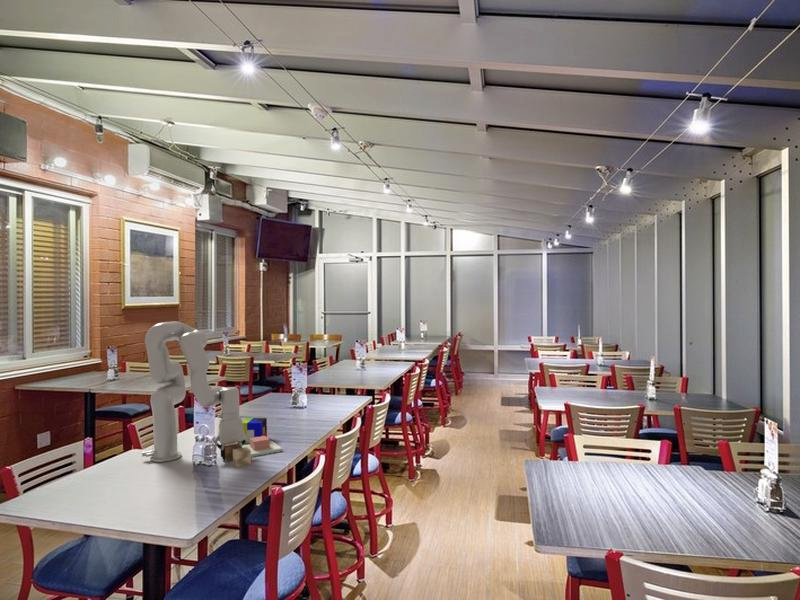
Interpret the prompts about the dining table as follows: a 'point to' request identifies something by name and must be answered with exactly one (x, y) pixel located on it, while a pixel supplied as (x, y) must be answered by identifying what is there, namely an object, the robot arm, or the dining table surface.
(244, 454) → the maple brick
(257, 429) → the puzzle toy
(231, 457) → the walnut brick
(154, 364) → the robot arm
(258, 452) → the build board
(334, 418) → the dining table surface
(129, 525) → the dining table surface
